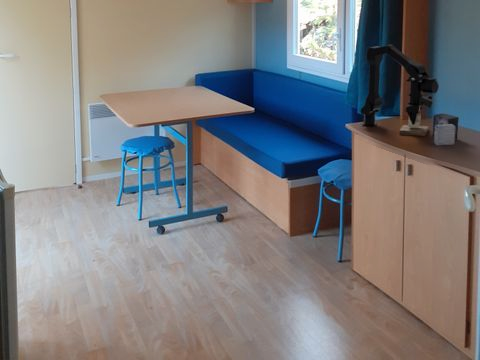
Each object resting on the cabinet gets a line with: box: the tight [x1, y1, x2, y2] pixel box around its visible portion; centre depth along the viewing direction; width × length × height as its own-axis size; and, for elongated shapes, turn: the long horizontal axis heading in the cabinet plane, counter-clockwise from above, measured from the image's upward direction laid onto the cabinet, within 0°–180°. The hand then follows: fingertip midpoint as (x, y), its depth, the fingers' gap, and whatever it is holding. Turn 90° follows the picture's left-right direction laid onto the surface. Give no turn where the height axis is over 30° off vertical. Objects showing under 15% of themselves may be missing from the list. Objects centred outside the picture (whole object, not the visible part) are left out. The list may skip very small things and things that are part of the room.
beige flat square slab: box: [398, 124, 429, 137], centre depth 306 cm, size 12×12×2 cm
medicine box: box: [433, 124, 456, 146], centre depth 282 cm, size 8×4×9 cm, turn 92°
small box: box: [432, 113, 460, 140], centre depth 293 cm, size 11×6×10 cm, turn 23°
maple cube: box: [407, 112, 422, 128], centre depth 304 cm, size 5×5×6 cm
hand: (414, 123), depth 305 cm, fingers open, 5 cm apart
